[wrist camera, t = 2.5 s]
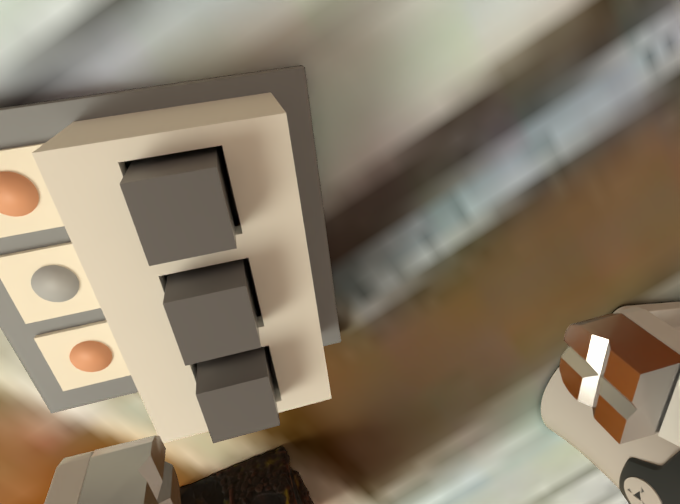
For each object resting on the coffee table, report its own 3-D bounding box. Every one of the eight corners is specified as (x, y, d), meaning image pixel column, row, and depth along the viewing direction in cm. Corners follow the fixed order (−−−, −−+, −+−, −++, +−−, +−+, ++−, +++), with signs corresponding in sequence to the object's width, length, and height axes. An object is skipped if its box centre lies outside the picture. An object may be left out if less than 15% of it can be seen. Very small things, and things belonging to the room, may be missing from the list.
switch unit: (301, 65, 25) (329, 81, 19) (337, 333, 34) (364, 401, 28) (-106, 122, 22) (-229, 164, 16) (56, 402, 31) (17, 495, 25)
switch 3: (258, 309, 28) (268, 376, 23) (268, 353, 30) (280, 425, 24) (199, 323, 27) (195, 394, 22) (213, 367, 29) (213, 443, 24)
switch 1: (216, 132, 23) (216, 167, 17) (231, 198, 24) (236, 248, 19) (141, 144, 22) (119, 183, 17) (163, 211, 24) (149, 266, 19)
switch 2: (239, 230, 25) (245, 285, 20) (252, 283, 27) (261, 347, 22) (173, 243, 25) (162, 303, 19) (190, 297, 26) (185, 365, 21)
